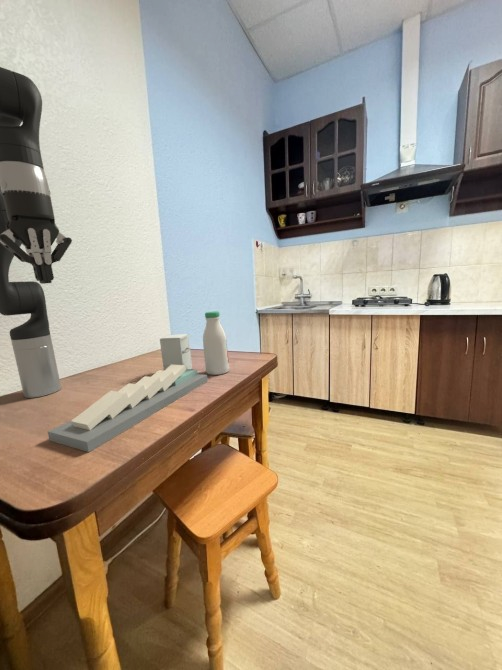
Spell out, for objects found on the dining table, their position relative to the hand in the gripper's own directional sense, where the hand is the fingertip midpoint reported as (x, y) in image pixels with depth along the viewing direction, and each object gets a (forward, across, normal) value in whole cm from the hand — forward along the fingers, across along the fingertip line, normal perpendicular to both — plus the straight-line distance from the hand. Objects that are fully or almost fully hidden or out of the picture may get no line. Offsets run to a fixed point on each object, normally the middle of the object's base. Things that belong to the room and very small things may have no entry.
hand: (45, 283), depth 59 cm
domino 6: (+28, -20, +10) cm, 36 cm away
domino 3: (+28, -6, +12) cm, 31 cm away
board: (+31, -12, +12) cm, 35 cm away
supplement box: (+33, -35, -2) cm, 48 cm away
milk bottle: (+32, -40, +12) cm, 52 cm away
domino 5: (+28, -16, +11) cm, 34 cm away
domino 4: (+28, -11, +12) cm, 32 cm away
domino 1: (+27, +4, +14) cm, 31 cm away
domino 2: (+27, -1, +13) cm, 30 cm away
